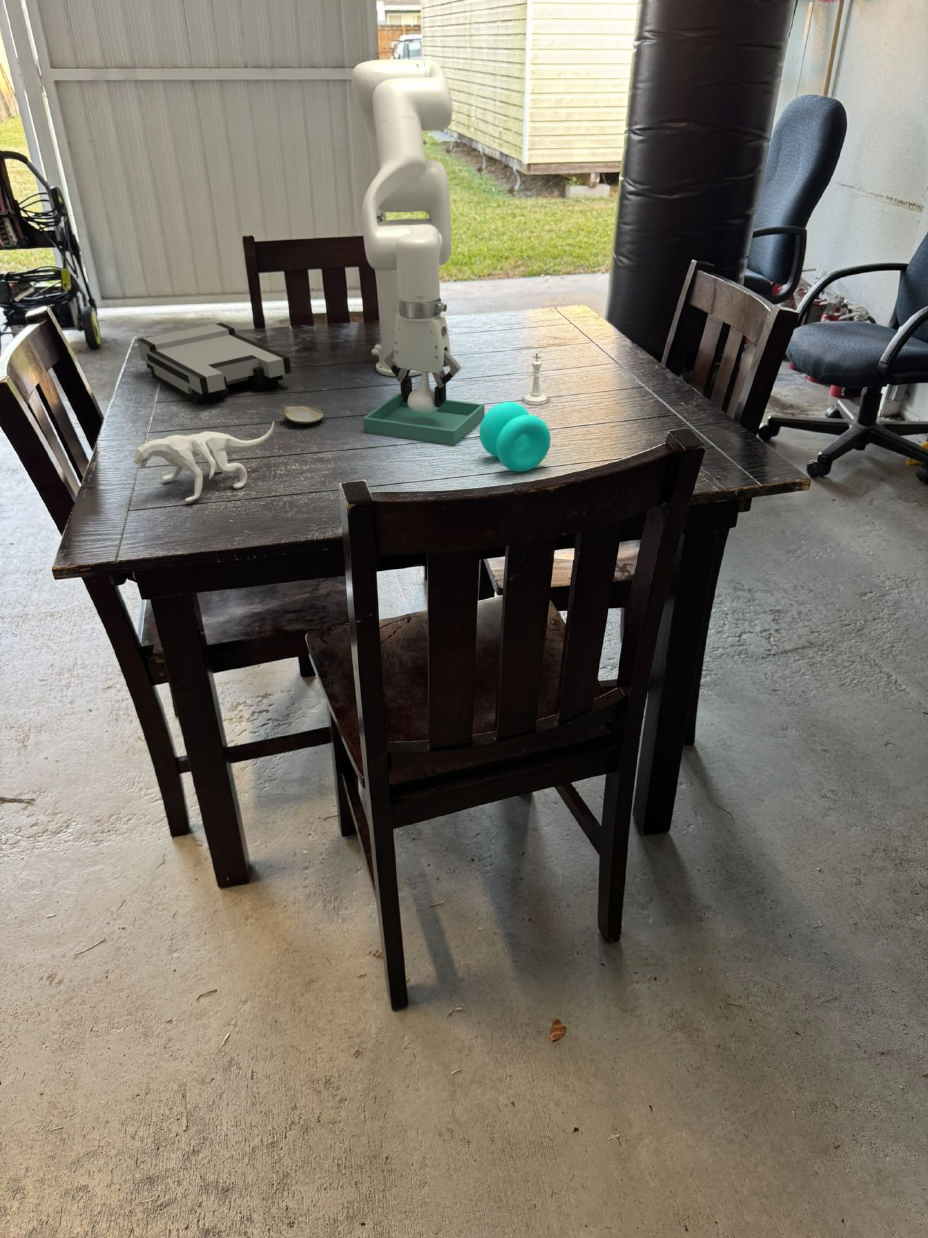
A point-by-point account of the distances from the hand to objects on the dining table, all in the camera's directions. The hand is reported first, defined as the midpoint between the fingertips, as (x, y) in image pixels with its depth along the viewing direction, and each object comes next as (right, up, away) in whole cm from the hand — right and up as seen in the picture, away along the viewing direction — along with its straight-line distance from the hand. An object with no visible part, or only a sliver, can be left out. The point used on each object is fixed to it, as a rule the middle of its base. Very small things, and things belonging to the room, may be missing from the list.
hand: (423, 401), depth 164 cm
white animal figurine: (-35, -19, -19) cm, 44 cm away
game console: (-48, +11, +26) cm, 56 cm away
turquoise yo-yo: (+17, -15, -14) cm, 27 cm away
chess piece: (+23, +3, +12) cm, 26 cm away
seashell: (-24, -3, +5) cm, 25 cm away
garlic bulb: (0, -1, +1) cm, 2 cm away
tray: (0, -4, +2) cm, 5 cm away
